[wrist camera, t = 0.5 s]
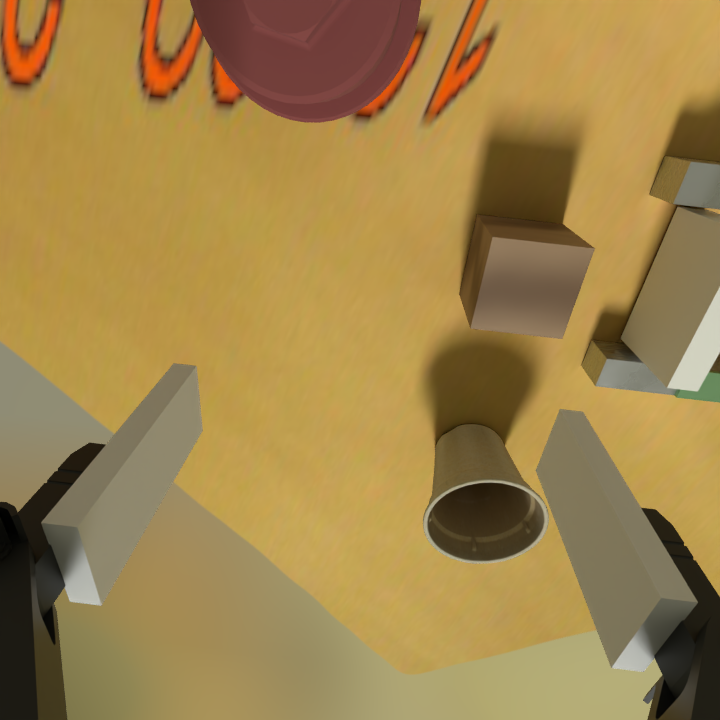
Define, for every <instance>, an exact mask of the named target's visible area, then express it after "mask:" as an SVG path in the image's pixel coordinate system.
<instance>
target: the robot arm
mask: <svg viewBox="0 0 720 720" xmlns="http://www.w3.org/2000/svg"><path fill="white" fill-rule="evenodd" d="M202 431H203V429H202V418H201V408H200V397H199V387H198V376H197V366H193V365H184V364H176V363H174V364H173V365H172V366H171V367H170V369H169V370H168V371H167V372H166V373H165V375H164V376H163V377H162V378H161V379H160V381H159V382H158V383H157V384H156V385H155V387H154V388H153V389H152V390H151V391H150V393H149V394H148V395H147V396H146V397H145V399H144V400H143V401H142V402H141V403H140V405H139V406H138V407H137V408H136V409H135V411H134V412H133V413H132V414H131V415H130V417H129V418H128V419H127V420H126V421H125V423H124V424H123V425H122V426H121V427H120V429H119V430H118V431H117V432H116V433H115V435H114V436H113V437H112V438H111V439H110V441H109V442H108V443H107V444H106V445H104V444H96V443H88V444H87V445H85V446H83V447H82V448H80V449H79V450H77V451H75V452H74V453H72V454H71V455H70V456H69V457H68V458H67V459H66V460H65V462H63V464H62V465H61V466H60V467H59V468H58V471H56V472H54V473H53V475H52V476H51V477H50V478H49V479H48V480H47V483H44V485H43V486H42V487H41V488H40V489H39V490H38V491H37V492H36V493H35V494H34V495H33V497H32V498H31V499H30V500H29V501H28V502H27V503H26V504H25V505H24V507H23V508H22V509H21V510H20V511H19V512H17V510H16V508H15V507H14V506H13V505H11V504H8V503H7V502H0V720H67V712H66V702H65V692H64V682H63V672H62V662H61V651H60V640H59V632H58V631H59V630H58V622H57V621H58V620H57V611H56V608H55V605H54V602H55V600H56V599H57V597H58V595H59V594H60V593H61V592H62V590H63V589H64V587H65V590H66V592H67V595H68V598H69V601H70V602H77V603H86V604H93V605H102V604H103V602H104V600H105V599H106V597H107V595H108V594H109V592H110V590H111V588H112V587H113V585H114V583H115V581H116V580H117V578H118V576H119V574H120V573H121V571H122V569H123V568H124V566H125V564H126V562H127V561H128V559H129V557H130V556H131V554H132V552H133V550H134V548H135V547H136V545H137V543H138V542H139V540H140V538H141V536H142V535H143V533H144V531H145V529H146V528H147V526H148V524H149V522H150V521H151V519H152V517H153V516H154V514H155V512H156V510H157V509H158V507H159V505H160V504H161V502H162V500H163V498H164V497H165V495H166V493H167V491H168V490H169V488H170V486H171V485H172V483H173V481H174V479H175V478H176V476H177V474H178V472H179V471H180V469H181V467H182V465H183V464H184V462H185V460H186V459H187V457H188V455H189V453H190V452H191V450H192V448H193V446H194V445H195V443H196V441H197V439H198V438H199V436H200V434H201V433H202ZM536 472H537V475H538V477H539V480H540V483H541V485H542V488H543V490H544V493H545V496H546V498H547V501H548V503H549V506H550V509H551V511H552V514H553V517H554V519H555V522H556V524H557V527H558V530H559V532H560V535H561V537H562V540H563V543H564V545H565V548H566V551H567V553H568V556H569V558H570V561H571V564H572V566H573V569H574V572H575V574H576V577H577V579H578V582H579V585H580V587H581V590H582V592H583V595H584V598H585V600H586V603H587V606H588V608H589V611H590V613H591V616H592V619H593V621H594V624H595V626H596V629H597V632H598V634H599V637H600V639H601V642H602V645H603V647H604V650H605V652H606V655H607V658H608V660H609V663H610V666H611V668H617V669H625V670H633V671H641V672H644V671H645V669H646V668H647V667H648V666H649V664H650V663H651V662H652V660H653V659H654V658H655V660H656V662H657V664H658V666H659V668H660V670H661V672H662V674H663V675H662V677H661V678H660V679H659V680H658V681H657V682H656V684H655V685H654V686H653V687H652V688H651V690H650V691H649V692H648V693H647V695H646V696H645V698H644V699H643V701H645V702H646V703H647V704H648V703H649V702H650V701H651V700H652V699H653V700H652V704H651V708H650V712H649V716H648V720H720V597H719V595H718V594H717V592H716V591H715V589H714V588H713V586H712V585H711V583H710V582H709V580H708V579H707V577H706V576H705V574H704V572H703V571H702V569H701V568H700V566H699V565H698V563H697V562H696V561H695V560H693V556H692V554H691V553H690V551H689V550H688V548H687V546H684V542H683V540H682V539H681V537H680V536H679V534H678V533H677V531H676V530H675V528H674V527H673V525H672V524H671V523H670V522H668V521H667V520H666V519H665V518H664V517H663V516H662V515H661V514H660V513H659V512H658V511H657V510H655V509H647V508H641V507H640V505H639V504H638V502H637V501H636V499H635V497H634V496H633V494H632V492H631V491H630V489H629V487H628V486H627V484H626V482H625V481H624V479H623V477H622V476H621V474H620V472H619V471H618V469H617V467H616V466H615V464H614V462H613V461H612V459H611V457H610V456H609V454H608V453H607V451H606V449H605V448H604V446H603V444H602V443H601V441H600V439H599V438H598V436H597V434H596V433H595V431H594V429H593V428H592V426H591V424H590V423H589V421H588V419H587V418H586V416H585V414H584V413H583V412H580V411H572V410H563V409H560V410H559V413H558V415H557V418H556V420H555V423H554V426H553V428H552V431H551V433H550V436H549V438H548V441H547V443H546V446H545V448H544V451H543V454H542V456H541V459H540V461H539V464H538V466H537V469H536Z"/></svg>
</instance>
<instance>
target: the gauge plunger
mask: <svg viewBox="0 0 720 720" xmlns="http://www.w3.org/2000/svg"><path fill="white" fill-rule="evenodd" d="M621 340H622V341H623V342H624V343H625V344H626V345H627V346H628V347H629V348H630V349H631V350H632V351H633V352H634V353H635V355H636V356H637V357H638V358H639V359H640V360H641V361H642V362H643V363H644V364H645V365H646V366H647V367H648V368H649V369H650V371H651V372H652V373H653V374H654V375H655V376H656V377H657V378H658V379H659V380H660V381H661V382H662V383H663V384H664V385H665V387H666V388H672V389H680V390H689V391H697V392H698V390H699V388H700V387H701V385H702V383H703V381H704V380H705V378H706V376H707V374H708V373H709V371H710V369H711V367H712V365H713V364H714V362H715V360H716V358H717V357H718V355H719V353H720V214H717V213H715V212H712V211H709V210H704V209H695V208H686V207H677V209H676V211H675V214H674V216H673V218H672V221H671V223H670V225H669V227H668V230H667V232H666V234H665V237H664V239H663V241H662V244H661V246H660V248H659V251H658V253H657V255H656V258H655V260H654V262H653V264H652V267H651V269H650V271H649V274H648V276H647V278H646V281H645V283H644V285H643V288H642V290H641V292H640V294H639V297H638V299H637V301H636V304H635V306H634V308H633V311H632V313H631V315H630V318H629V320H628V322H627V325H626V327H625V329H624V331H623V334H622V336H621Z"/></svg>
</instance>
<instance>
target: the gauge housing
mask: <svg viewBox="0 0 720 720" xmlns="http://www.w3.org/2000/svg"><path fill="white" fill-rule="evenodd" d="M650 195H651V196H654V197H656V198H659V199H661V200H664V201H667V202H669V203H672V204H678V205H687V206H695V207H704V208H713V209H720V162H715V161H706V160H697V159H688V158H679V157H670V156H665V157H664V159H663V162H662V164H661V167H660V169H659V172H658V174H657V177H656V179H655V182H654V185H653V187H652V190H651V192H650ZM582 368H583V369H584V370H585V372H586V373H587V375H588V376H589V378H590V379H591V380H592V382H593V383H594V385H595V386H599V387H608V388H616V389H625V390H634V391H642V392H651V393H660V394H668V395H675V396H676V397H677V398H685V399H694V400H703V401H711V402H720V355H718V357H717V358H716V360H715V362H714V364H713V365H712V367H711V369H710V371H709V373H708V374H707V376H706V378H705V380H704V381H703V383H702V385H701V387H700V388H699V390H698V392H697V391H689V390H680V389H672V388H666V387H665V385H664V384H663V383H662V382H661V381H660V380H659V379H658V378H657V377H656V376H655V375H654V374H653V373H652V372H651V371H650V369H649V368H648V367H647V366H646V365H645V364H644V363H643V362H642V361H641V360H640V359H639V358H638V357H637V356H636V355H635V353H634V352H633V351H632V350H631V349H630V348H629V347H628V346H627V345H626V344H622V343H614V342H605V341H596V340H591V343H590V345H589V348H588V350H587V353H586V356H585V358H584V361H583V363H582Z"/></svg>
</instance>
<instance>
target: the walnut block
mask: <svg viewBox="0 0 720 720" xmlns="http://www.w3.org/2000/svg"><path fill="white" fill-rule="evenodd" d="M594 249H595V248H593V247H592V246H591V245H589V244H588V243H587V242H586V241H584V240H583V239H582V238H580V237H579V236H578V235H576V234H575V233H574V232H572V231H571V230H570V229H569V228H567V227H566V226H565V225H563V224H558V223H549V222H540V221H532V220H523V219H514V218H505V217H496V216H487V215H478V214H477V216H476V221H475V226H474V230H473V235H472V239H471V244H470V248H469V253H468V257H467V262H466V267H465V271H464V276H463V280H462V285H461V289H460V294H459V295H460V298H461V301H462V304H463V307H464V310H465V313H466V316H467V319H468V322H469V325H470V328H471V329H480V330H489V331H497V332H506V333H515V334H523V335H532V336H541V337H550V338H558V339H562V338H563V335H564V332H565V330H566V327H567V324H568V321H569V319H570V316H571V313H572V310H573V308H574V305H575V302H576V299H577V296H578V294H579V291H580V288H581V285H582V283H583V280H584V277H585V274H586V272H587V269H588V266H589V263H590V260H591V258H592V255H593V252H594Z"/></svg>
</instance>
